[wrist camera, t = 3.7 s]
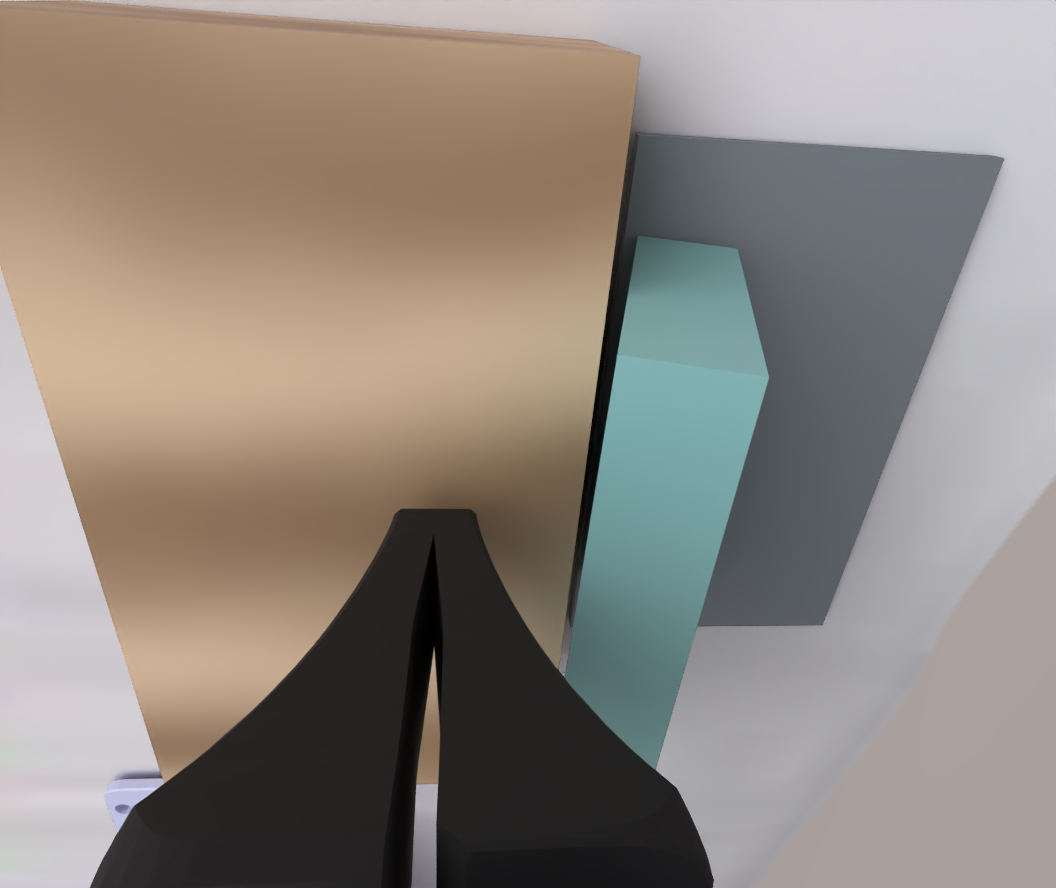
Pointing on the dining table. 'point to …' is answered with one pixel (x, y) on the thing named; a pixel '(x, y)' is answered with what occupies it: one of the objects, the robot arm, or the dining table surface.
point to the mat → (807, 334)
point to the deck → (304, 315)
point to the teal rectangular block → (664, 481)
